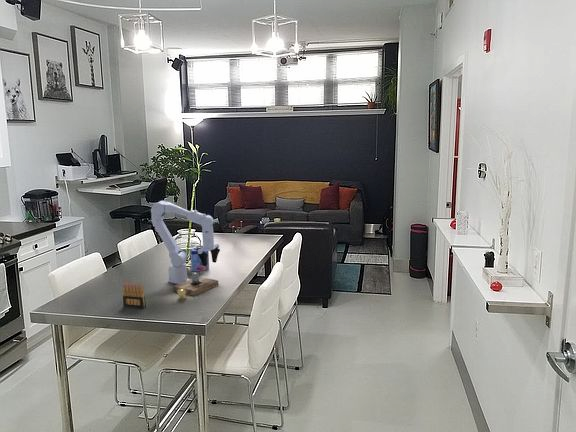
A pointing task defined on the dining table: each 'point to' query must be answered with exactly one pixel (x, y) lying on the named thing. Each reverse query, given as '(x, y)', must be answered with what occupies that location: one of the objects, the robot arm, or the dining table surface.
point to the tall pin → (195, 278)
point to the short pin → (181, 294)
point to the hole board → (196, 286)
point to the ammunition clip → (133, 295)
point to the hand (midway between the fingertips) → (209, 264)
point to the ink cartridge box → (198, 260)
